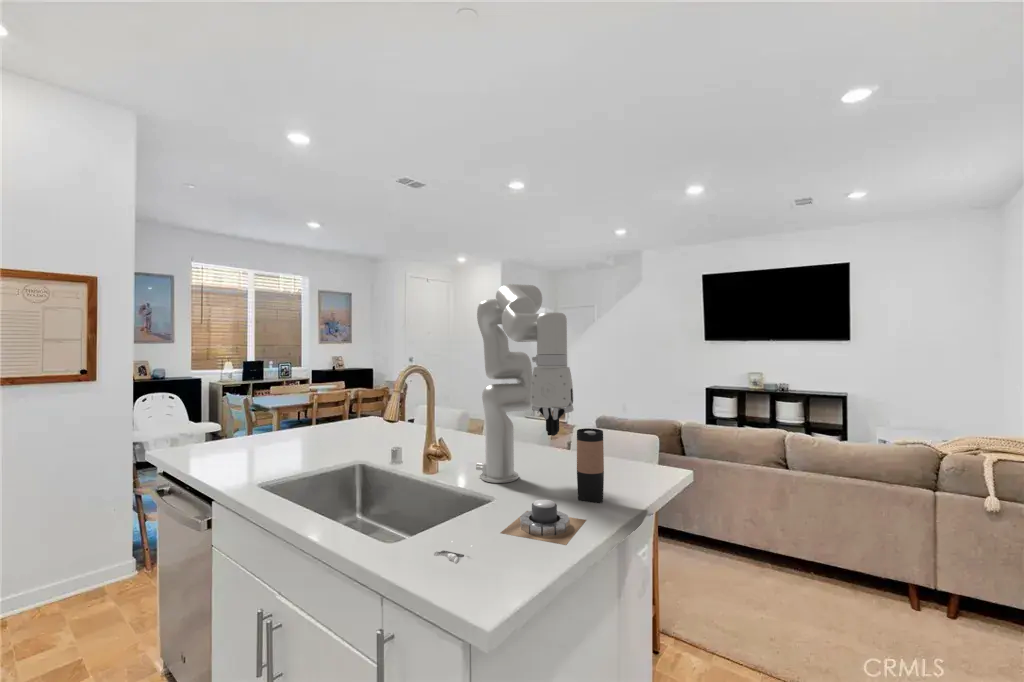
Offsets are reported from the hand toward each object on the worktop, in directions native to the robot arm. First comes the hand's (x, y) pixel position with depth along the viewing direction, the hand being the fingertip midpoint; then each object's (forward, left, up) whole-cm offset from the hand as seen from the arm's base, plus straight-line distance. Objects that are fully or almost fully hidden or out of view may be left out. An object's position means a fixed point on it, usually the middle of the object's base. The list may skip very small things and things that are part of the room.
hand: (552, 434), depth 118 cm
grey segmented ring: (0, -6, -21) cm, 22 cm away
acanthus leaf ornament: (-14, -25, -23) cm, 36 cm away
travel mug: (+4, +20, -22) cm, 30 cm away
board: (0, -6, -22) cm, 23 cm away
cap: (0, -6, -21) cm, 22 cm away
